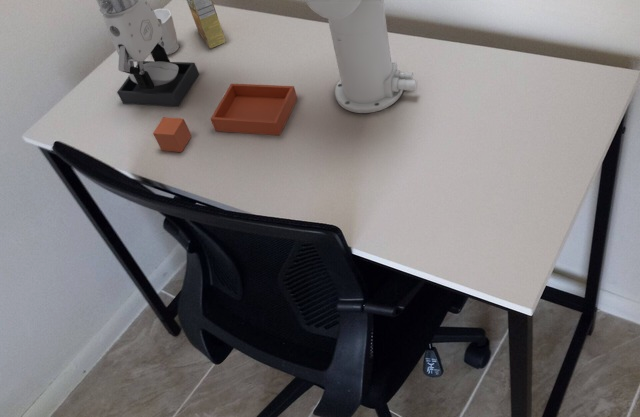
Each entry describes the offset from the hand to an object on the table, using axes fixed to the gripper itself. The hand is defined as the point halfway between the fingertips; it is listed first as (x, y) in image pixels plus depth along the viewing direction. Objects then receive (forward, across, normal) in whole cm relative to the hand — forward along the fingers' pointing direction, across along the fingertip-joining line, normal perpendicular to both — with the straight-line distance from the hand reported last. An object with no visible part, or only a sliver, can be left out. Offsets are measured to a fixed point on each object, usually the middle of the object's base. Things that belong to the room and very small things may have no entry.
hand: (155, 75), depth 131 cm
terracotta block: (+3, -15, -11) cm, 19 cm away
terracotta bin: (+4, -6, -24) cm, 25 cm away
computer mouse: (+1, 0, 0) cm, 1 cm away
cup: (+4, +14, +6) cm, 16 cm away
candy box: (+4, +18, -4) cm, 19 cm away
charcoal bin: (+3, 0, 0) cm, 3 cm away
